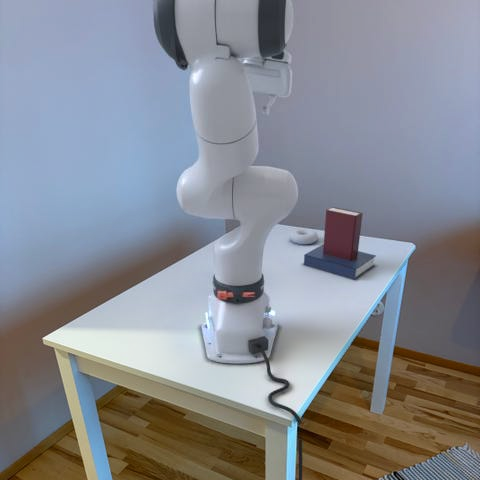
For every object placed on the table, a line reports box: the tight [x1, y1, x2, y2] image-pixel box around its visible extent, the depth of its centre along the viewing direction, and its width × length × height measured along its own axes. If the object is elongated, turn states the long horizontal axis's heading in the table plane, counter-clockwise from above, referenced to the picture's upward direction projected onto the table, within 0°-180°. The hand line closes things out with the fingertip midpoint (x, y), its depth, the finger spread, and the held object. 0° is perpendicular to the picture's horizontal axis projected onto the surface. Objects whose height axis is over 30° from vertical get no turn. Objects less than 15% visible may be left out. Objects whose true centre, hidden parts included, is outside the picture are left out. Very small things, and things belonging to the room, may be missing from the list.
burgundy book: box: [323, 206, 363, 261], centre depth 142 cm, size 4×10×14 cm, turn 50°
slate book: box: [303, 243, 377, 280], centre depth 147 cm, size 13×18×4 cm
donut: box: [289, 228, 319, 245], centre depth 166 cm, size 10×3×10 cm
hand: (247, 111), depth 120 cm, fingers open, 8 cm apart
